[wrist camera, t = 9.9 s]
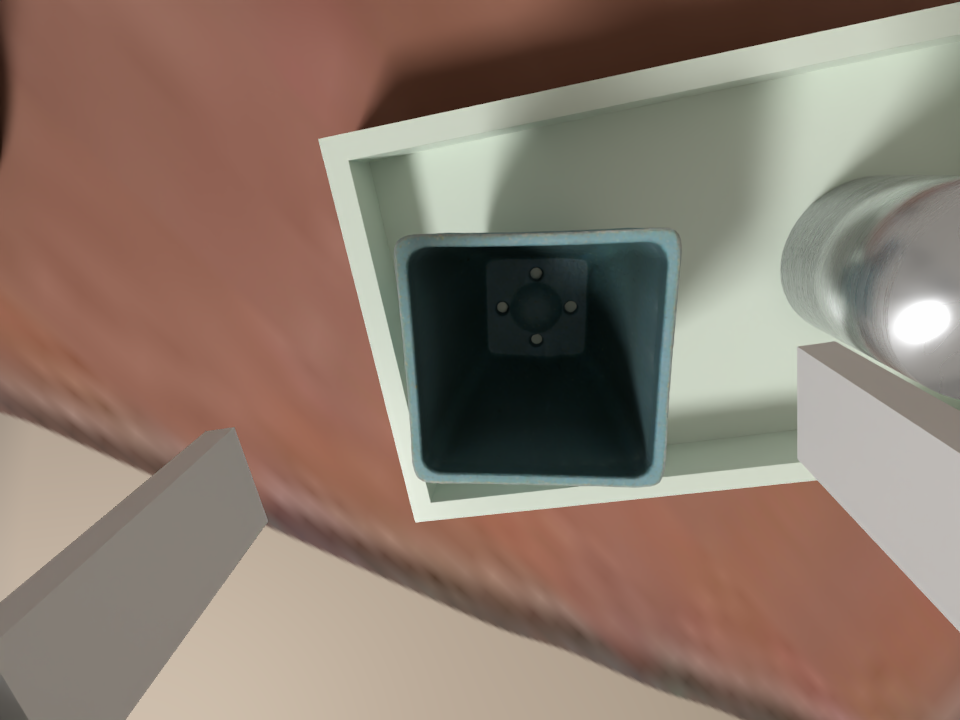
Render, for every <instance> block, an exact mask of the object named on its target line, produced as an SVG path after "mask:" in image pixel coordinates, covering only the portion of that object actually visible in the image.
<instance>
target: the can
mask: <svg viewBox="0 0 960 720" xmlns="http://www.w3.org/2000/svg"><path fill="white" fill-rule="evenodd" d="M780 274H781V283H782V287H783V291H784V294H785V296H786V298H787V300H788V302H789V304H790V305H791V307H792V308H793V310H794V311H795V312H796V313H797V314H798V315H799V316H800V317H801V318H802V319H803V320H804V321H806V322H807V323H809V324H810V325H812V326H814V327H815V328H817V329H819V330H821V331H823V332H825V333H827V334H828V335H830V336H832V337H834V338H836V339H838V340H840V341H841V342H843V343H845V344H847V345H849V346H851V347H853V348H854V349H856V350H858V351H860V352H862V353H864V354H866V355H867V356H869V357H871V358H873V359H875V360H877V361H879V362H880V363H882V364H884V365H886V366H888V367H890V368H892V369H893V370H895V371H897V372H899V373H901V374H903V375H905V376H906V377H908V378H910V379H912V380H914V381H916V382H918V383H919V384H921V385H923V386H925V387H927V388H929V389H931V390H933V391H935V392H937V393H939V394H942V395H944V396H948V397H951V398H955V399H959V400H960V175H876V176H867V177H863V178H858V179H854V180H852V181H849V182H846V183H843V184H841V185H839V186H837V187H835V188H833V189H832V190H830V191H828V192H827V193H825V194H824V195H822V196H821V197H820V198H819V199H817V200H816V201H815V202H814V203H812V204H811V205H810V206H809V207H808V208H807V209H806V211H805V212H804V213H803V214H802V215H801V217H800V218H799V219H798V220H797V222H796V223H795V225H794V227H793V228H792V230H791V232H790V234H789V236H788V238H787V240H786V243H785V246H784V249H783V253H782V258H781V268H780Z"/></svg>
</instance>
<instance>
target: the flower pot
mask: <svg viewBox="0 0 960 720" xmlns="http://www.w3.org/2000/svg"><path fill="white" fill-rule="evenodd" d="M681 256H682V244H681V238H680V236H679V234H678V233H677V231H676V230H673V229H670V228H615V229H593V230H569V231H539V232H491V233H436V234H413V235H407V236H404V237H402V238H400V239H399V240H398V241H397V242H396V245H395V248H394V260H395V274H396V280H397V291H398V300H399V311H400V319H401V327H402V330H401V331H402V340H403V349H404V358H405V359H404V364H405V372H406V382H407V393H408V407H409V420H410V432H411V436H410V437H411V453H412V464H413V468H414V471H415V474H416V476H417V477H418V479H420V480H422V481H423V482H429V483H440V484H443V483H456V484H467V483H471V484H505V485H508V484H513V485H517V484H527V485H568V486H602V487H630V488H638V487H651V486H654V485H657V484H658V483H660V481H661V479H662V477H663V474H664V471H665V463H666V447H667V430H668V412H669V392H670V383H671V371H672V370H671V368H672V356H673V346H674V333H675V325H676V311H677V301H678V288H679V278H680V267H681ZM533 268H539V269H541V271H542V275H541V277H540V278H538V279H536V278H533V277H532V276H531V270H532V269H533ZM569 301H573V302H575V303H576V306H577V307H576V309H575V310H574V311H573V312H569V311H567V310H566V309H565V304H566V303H567V302H569ZM500 302H505V303H506V304H507V305H508V308H507V311H505V312H500V311H499V310H498V308H497V305H498V304H499V303H500ZM536 334H539V335H540V336H541V337H542V341H541V342H540V343H539V344H535V343H533V342H532V340H531V338H532V336H533V335H536Z"/></svg>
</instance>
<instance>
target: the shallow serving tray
mask: <svg viewBox="0 0 960 720" xmlns="http://www.w3.org/2000/svg"><path fill="white" fill-rule="evenodd" d="M318 140H319V144H320V148H321V152H322V156H323V160H324V164H325V168H326V172H327V176H328V179H329V183H330V187H331V191H332V195H333V199H334V203H335V207H336V211H337V215H338V219H339V223H340V227H341V231H342V235H343V239H344V243H345V247H346V251H347V255H348V259H349V262H350V266H351V270H352V274H353V278H354V282H355V286H356V290H357V294H358V298H359V302H360V306H361V310H362V314H363V318H364V322H365V326H366V330H367V334H368V338H369V341H370V345H371V349H372V353H373V357H374V361H375V365H376V369H377V373H378V377H379V381H380V385H381V389H382V393H383V397H384V401H385V405H386V409H387V413H388V417H389V421H390V424H391V428H392V432H393V436H394V440H395V444H396V448H397V452H398V456H399V460H400V464H401V468H402V472H403V476H404V480H405V484H406V488H407V492H408V496H409V500H410V503H411V507H412V511H413V515H414V519H415V522H423V521H433V520H442V519H452V518H461V517H471V516H480V515H490V514H499V513H509V512H518V511H528V510H537V509H547V508H557V507H566V506H576V505H585V504H595V503H604V502H614V501H623V500H633V499H642V498H652V497H661V496H671V495H680V494H690V493H699V492H709V491H718V490H728V489H737V488H747V487H757V486H766V485H776V484H785V483H795V482H804V481H814V480H817V479H816V478H815V477H814V476H813V475H812V474H811V473H810V472H809V471H808V470H807V469H806V468H805V466H804V465H803V464H802V463H801V462H800V461H799V460H798V459H797V347H798V346H805V345H812V344H819V343H826V342H833V341H836V342H837V343H839V344H841V345H843V346H844V347H846V348H848V349H850V350H852V351H853V352H855V353H857V354H859V355H861V356H862V357H864V358H866V359H868V360H870V361H871V362H873V363H875V364H877V365H878V366H880V367H882V368H884V369H886V370H887V371H889V372H891V373H893V374H895V375H896V376H898V377H900V378H902V379H904V380H905V381H907V382H909V383H911V384H912V385H914V386H916V387H918V388H920V389H921V390H923V391H925V392H927V393H929V394H930V395H932V396H934V397H936V398H937V399H939V400H941V401H943V402H945V403H946V404H948V405H950V406H952V407H954V408H955V409H957V410H959V411H960V400H959V399H955V398H951V397H948V396H944V395H942V394H939V393H937V392H935V391H933V390H931V389H929V388H927V387H925V386H923V385H921V384H919V383H918V382H916V381H914V380H912V379H910V378H908V377H906V376H905V375H903V374H901V373H899V372H897V371H895V370H893V369H892V368H890V367H888V366H886V365H884V364H882V363H880V362H879V361H877V360H875V359H873V358H871V357H869V356H867V355H866V354H864V353H862V352H860V351H858V350H856V349H854V348H853V347H851V346H849V345H847V344H845V343H843V342H841V341H840V340H838V339H836V338H834V337H832V336H830V335H828V334H827V333H825V332H823V331H821V330H819V329H817V328H815V327H814V326H812V325H810V324H809V323H807V322H806V321H804V320H803V319H802V318H801V317H800V316H799V315H798V314H797V313H796V312H795V311H794V310H793V308H792V307H791V305H790V304H789V302H788V300H787V298H786V296H785V294H784V291H783V287H782V283H781V274H780V268H781V258H782V253H783V249H784V246H785V243H786V240H787V238H788V236H789V234H790V232H791V230H792V228H793V227H794V225H795V223H796V222H797V220H798V219H799V218H800V217H801V215H802V214H803V213H804V212H805V211H806V209H807V208H808V207H809V206H810V205H811V204H812V203H814V202H815V201H816V200H817V199H819V198H820V197H821V196H822V195H824V194H825V193H827V192H828V191H830V190H832V189H833V188H835V187H837V186H839V185H841V184H843V183H846V182H849V181H852V180H854V179H858V178H863V177H867V176H876V175H960V2H957V3H952V4H947V5H943V6H938V7H933V8H929V9H924V10H919V11H915V12H910V13H905V14H901V15H896V16H891V17H887V18H882V19H877V20H873V21H868V22H863V23H859V24H854V25H849V26H845V27H840V28H835V29H831V30H826V31H821V32H817V33H812V34H807V35H803V36H798V37H793V38H789V39H784V40H779V41H775V42H770V43H765V44H760V45H756V46H751V47H746V48H742V49H737V50H732V51H728V52H723V53H718V54H714V55H709V56H704V57H700V58H695V59H690V60H686V61H681V62H676V63H672V64H667V65H662V66H658V67H653V68H648V69H644V70H639V71H634V72H630V73H625V74H620V75H616V76H611V77H606V78H602V79H597V80H592V81H588V82H583V83H578V84H574V85H569V86H564V87H560V88H555V89H550V90H546V91H541V92H536V93H532V94H527V95H522V96H518V97H513V98H508V99H504V100H499V101H494V102H489V103H485V104H480V105H475V106H471V107H466V108H461V109H457V110H452V111H447V112H443V113H438V114H433V115H429V116H424V117H419V118H415V119H410V120H405V121H401V122H396V123H391V124H387V125H382V126H377V127H373V128H368V129H363V130H359V131H354V132H349V133H345V134H340V135H335V136H331V137H326V138H321V139H318ZM615 228H670V229H673V230H676V231H677V233H678V234H679V236H680V238H681V244H682V256H681V267H680V278H679V288H678V301H677V311H676V325H675V333H674V346H673V356H672V368H671V370H672V371H671V383H670V392H669V412H668V430H667V447H666V463H665V471H664V474H663V477H662V479H661V481H660V483H658V484H657V485H654V486H651V487H638V488H630V487H602V486H568V485H527V484H517V485H513V484H508V485H505V484H471V483H467V484H456V483H443V484H440V483H429V482H423V481H422V480H420V479H418V477H417V476H416V474H415V471H414V468H413V464H412V453H411V437H410V436H411V432H410V420H409V407H408V393H407V382H406V372H405V364H404V359H405V358H404V349H403V340H402V331H401V330H402V327H401V319H400V311H399V300H398V291H397V280H396V274H395V260H394V248H395V245H396V242H397V241H398V240H399V239H400V238H402V237H404V236H407V235H413V234H436V233H491V232H539V231H569V230H593V229H615ZM541 275H542V271H541V269H539V268H533V269H532V270H531V276H532V277H533V278H536V279H538V278H540V277H541ZM576 307H577V306H576V303H575V302H573V301H569V302H567V303H566V304H565V309H566V310H567V311H569V312H573V311H574V310H575V309H576ZM497 308H498V310H499V311H500V312H505V311H507V308H508V305H507V304H506V303H505V302H500V303H499V304H498V305H497ZM531 340H532V342H533V343H535V344H539V343H540V342H541V341H542V337H541V336H540V335H539V334H536V335H533V336H532V338H531Z"/></svg>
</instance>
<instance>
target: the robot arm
mask: <svg viewBox="0 0 960 720" xmlns="http://www.w3.org/2000/svg"><path fill="white" fill-rule="evenodd" d="M797 459H798V460H799V461H800V462H801V463H802V464H803V465H804V466H805V468H806V469H807V470H808V471H809V472H810V473H811V474H812V475H813V476H814V477H815V478H816V479H817V480H818V481H819V482H820V484H821V485H822V486H823V487H824V488H825V489H826V490H827V491H828V492H829V493H830V494H831V495H832V496H833V497H834V498H835V500H836V501H837V502H838V503H839V504H840V505H841V506H842V507H843V508H844V509H845V510H846V511H847V512H848V513H849V514H850V515H851V517H852V518H853V519H854V520H855V521H856V522H857V523H858V524H859V525H860V526H861V527H862V528H863V529H864V530H865V531H866V533H867V534H868V535H869V536H870V537H871V538H872V539H873V540H874V541H875V542H876V543H877V544H878V545H879V546H880V547H881V549H882V550H883V551H884V552H885V553H886V554H887V555H888V556H889V557H890V558H891V559H892V560H893V561H894V562H895V563H896V565H897V566H898V567H899V568H900V569H901V570H902V571H903V572H904V573H905V574H906V575H907V576H908V577H909V578H910V579H911V580H912V582H913V583H914V584H915V585H916V586H917V587H918V588H919V589H920V590H921V591H922V592H923V593H924V594H925V595H926V596H927V598H928V599H929V600H930V601H931V602H932V603H933V604H934V605H935V606H936V607H937V608H938V609H939V610H940V611H941V612H942V614H943V615H944V616H945V617H946V618H947V619H948V620H949V621H950V622H951V623H952V624H953V625H954V626H955V627H956V628H957V629H958V631H959V632H960V411H959V410H957V409H955V408H954V407H952V406H950V405H948V404H946V403H945V402H943V401H941V400H939V399H937V398H936V397H934V396H932V395H930V394H929V393H927V392H925V391H923V390H921V389H920V388H918V387H916V386H914V385H912V384H911V383H909V382H907V381H905V380H904V379H902V378H900V377H898V376H896V375H895V374H893V373H891V372H889V371H887V370H886V369H884V368H882V367H880V366H878V365H877V364H875V363H873V362H871V361H870V360H868V359H866V358H864V357H862V356H861V355H859V354H857V353H855V352H853V351H852V350H850V349H848V348H846V347H844V346H843V345H841V344H839V343H837V342H836V341H833V342H826V343H819V344H812V345H805V346H798V347H797ZM267 522H268V520H267V517H266V514H265V511H264V509H263V506H262V503H261V500H260V497H259V495H258V492H257V489H256V486H255V484H254V481H253V478H252V475H251V472H250V470H249V467H248V464H247V461H246V458H245V456H244V453H243V450H242V447H241V445H240V442H239V439H238V436H237V433H236V431H235V428H234V427H233V428H226V429H219V430H212V431H206V432H204V433H203V434H202V435H201V436H200V437H198V438H197V439H196V440H195V441H194V442H192V443H191V444H190V445H189V446H188V447H186V448H185V449H184V450H183V451H182V452H180V453H179V454H178V455H177V456H176V457H174V458H173V459H172V460H171V461H170V462H168V463H167V464H166V465H165V466H164V467H162V468H161V469H160V470H159V471H158V472H156V473H155V474H154V475H153V476H152V477H150V478H149V479H148V480H147V481H146V482H144V483H143V484H142V485H141V486H140V487H138V488H137V489H136V490H135V491H134V492H132V493H131V494H130V495H129V496H127V497H126V498H125V499H124V500H123V501H122V502H120V503H119V504H118V505H117V506H115V507H114V508H113V509H112V510H111V511H110V512H108V513H107V514H106V515H105V516H103V518H101V519H100V520H99V521H97V522H96V523H95V524H94V525H93V526H91V527H90V528H89V529H88V530H87V531H85V532H84V533H83V534H82V535H81V536H80V537H78V538H77V539H76V540H75V541H73V542H72V543H71V544H70V545H69V546H67V547H66V548H65V549H64V550H63V551H62V552H60V553H59V554H58V555H57V556H55V557H54V558H53V559H52V560H51V561H49V562H48V563H47V564H46V565H45V566H43V567H42V568H41V569H40V570H39V571H37V572H36V573H35V574H34V575H33V576H31V577H30V578H29V579H28V580H27V581H26V582H24V583H23V584H22V585H21V586H19V587H18V588H17V589H16V590H15V591H13V592H12V593H11V594H10V595H9V596H8V597H7V598H5V599H4V600H3V601H1V602H0V720H126V718H127V717H128V715H129V714H130V713H131V711H132V710H133V708H134V707H135V706H136V704H137V703H138V702H139V700H140V699H141V697H142V696H143V695H144V693H145V692H146V690H147V689H148V688H149V686H150V685H151V684H152V682H153V681H154V679H155V678H156V677H157V675H158V674H159V672H160V671H161V669H162V668H163V667H164V665H165V664H166V663H167V661H168V660H169V659H170V657H171V655H172V654H173V653H174V651H175V650H176V649H177V647H178V646H179V645H180V643H181V642H182V640H183V639H184V638H185V636H186V635H187V634H188V632H189V631H190V629H191V628H192V627H193V625H194V624H195V622H196V621H197V620H198V618H199V617H200V615H201V614H202V613H203V611H204V610H205V609H206V607H207V606H208V604H209V603H210V601H211V600H212V599H213V597H214V596H215V595H216V593H217V591H218V590H219V589H220V588H221V586H222V585H223V583H224V582H225V581H226V579H227V578H228V577H229V575H230V574H231V572H232V571H233V570H234V568H235V567H236V565H237V564H238V562H239V561H240V560H241V558H242V557H243V556H244V554H245V553H246V552H247V550H248V549H249V547H250V546H251V545H252V543H253V542H254V540H255V539H256V537H257V536H258V535H259V533H260V532H261V531H262V529H263V528H264V527H265V525H266V524H267Z"/></svg>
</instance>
